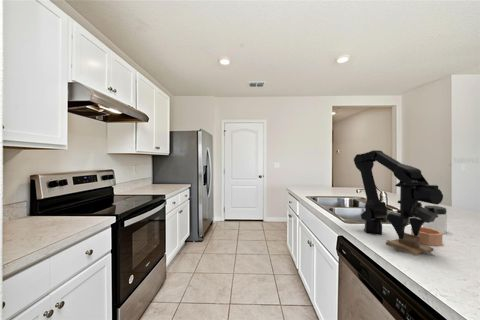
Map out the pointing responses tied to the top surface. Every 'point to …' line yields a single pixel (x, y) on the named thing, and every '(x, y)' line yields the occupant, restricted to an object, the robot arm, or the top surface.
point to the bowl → (430, 236)
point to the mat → (407, 252)
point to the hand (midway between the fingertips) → (408, 237)
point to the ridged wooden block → (410, 245)
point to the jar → (438, 220)
